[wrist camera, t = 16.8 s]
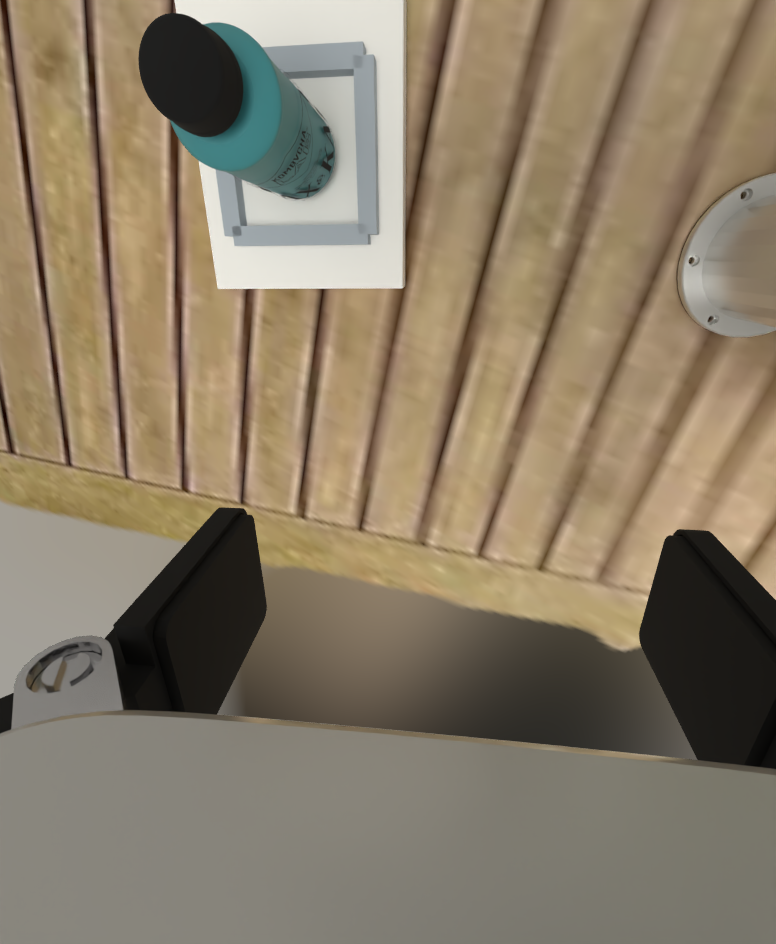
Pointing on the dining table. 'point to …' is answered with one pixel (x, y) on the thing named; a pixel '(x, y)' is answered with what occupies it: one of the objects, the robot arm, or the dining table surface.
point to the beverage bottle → (235, 106)
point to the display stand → (356, 151)
